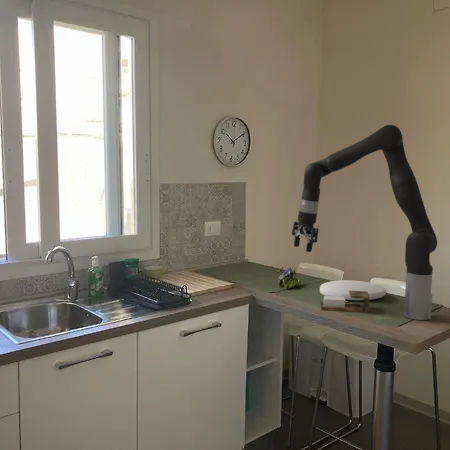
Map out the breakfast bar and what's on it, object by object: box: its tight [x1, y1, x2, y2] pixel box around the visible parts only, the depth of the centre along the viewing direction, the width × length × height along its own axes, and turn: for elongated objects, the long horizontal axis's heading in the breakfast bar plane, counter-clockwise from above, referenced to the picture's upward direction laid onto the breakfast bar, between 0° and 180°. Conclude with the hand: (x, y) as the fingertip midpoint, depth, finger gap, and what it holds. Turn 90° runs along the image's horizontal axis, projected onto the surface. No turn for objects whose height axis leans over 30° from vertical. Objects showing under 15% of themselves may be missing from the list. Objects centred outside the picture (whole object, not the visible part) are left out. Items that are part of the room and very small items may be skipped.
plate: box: [319, 279, 387, 301], centre depth 228 cm, size 28×6×27 cm
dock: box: [320, 291, 370, 314], centre depth 205 cm, size 18×8×7 cm, turn 81°
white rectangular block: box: [323, 295, 346, 308], centre depth 206 cm, size 8×5×4 cm, turn 81°
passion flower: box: [276, 266, 302, 290], centre depth 243 cm, size 11×11×12 cm
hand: (302, 249), depth 218 cm, fingers open, 8 cm apart
